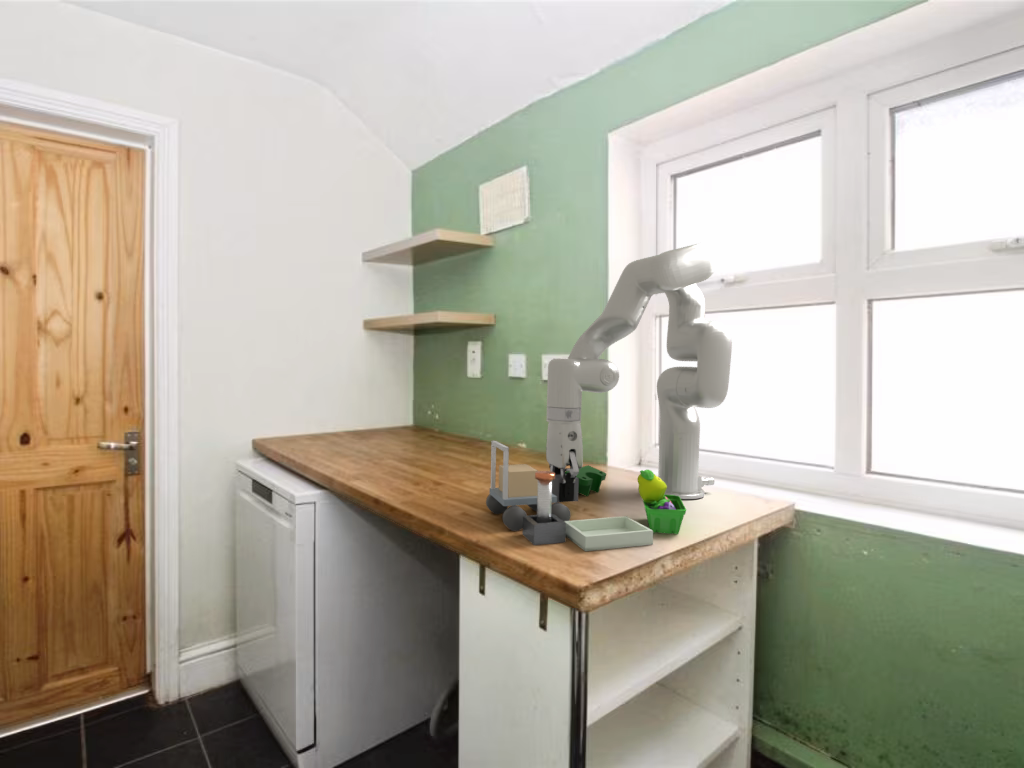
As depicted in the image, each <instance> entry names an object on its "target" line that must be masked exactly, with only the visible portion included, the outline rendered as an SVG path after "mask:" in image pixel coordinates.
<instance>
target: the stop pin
mask: <svg viewBox="0 0 1024 768" xmlns="http://www.w3.org/2000/svg"><path fill="white" fill-rule="evenodd" d="M535 479H537V480H538V491H537V511H536V515H537V523H548V522H551V508H552V504H553V503H552V480H554V479H555V473H554V472H551V471H550V470H538V471H537V472H535Z"/></svg>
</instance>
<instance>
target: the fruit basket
mask: <svg viewBox="0 0 1024 768" xmlns="http://www.w3.org/2000/svg"><path fill="white" fill-rule="evenodd" d="M637 482H638V494H639V496H640V497H641V499H642V502H643V505H644V510H645V515H646V519H647V523H648V528H649V529H651V530H653V534H654V533H657V534H667V535H668V534H669V535H670V534H673V535H678V534H679V533H680V530H681V527H682V522H683V519H684V516H685V515H686V512H687V508H686V506H685V505H684V503H683V500H682V499H680V497H679V496H675V495H664V494H665V491H666V489H667V486H666V484H665V482H664V481H662V480H661V479H660V478H659V477H658V475H656V474H655V473H654V472H653V471H652V470H651V469H645V470H643V469H641V470H640V471H639V474H638V477H637Z"/></svg>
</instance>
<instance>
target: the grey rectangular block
mask: <svg viewBox="0 0 1024 768" xmlns="http://www.w3.org/2000/svg"><path fill="white" fill-rule="evenodd" d="M565 476H566V474H565ZM560 483H562V482H561V475H555V479H554V480H552V494H554V495H555V496H557V503H562V502H561V501H559V488H560ZM578 488H579V478H577V477H576V478H575V483H574V500H573V501H568V502H567V503H569V502H579V493H578Z"/></svg>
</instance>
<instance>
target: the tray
mask: <svg viewBox="0 0 1024 768" xmlns="http://www.w3.org/2000/svg"><path fill="white" fill-rule="evenodd" d="M564 522H565V523H566V539H567V538H568V540H570V541H571V542H573V543H574V544H575V545H577V546H578V547H579V548H580V549H582V550H583V551H584V552H591V551H601V550H602V551H603V550H611V549H620V548H621V549H622V548H629V547H630V548H632V547H641V546H649V545H650V546H652V545H653V543H654V541H653V539H654V533H653V530H651V529H650V528H649V527H647V526H646V525H643V524H641V523H640V522H638V521H636V520H635V519H632V518H631V517H629V516H628V515H624V516H623V515H622V516H610V517H599V518H598V517H597V518H586V519H584V518H583V519H573V520H569V521H564Z"/></svg>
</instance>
